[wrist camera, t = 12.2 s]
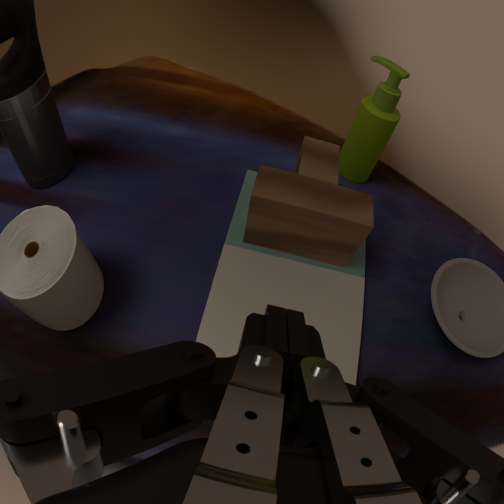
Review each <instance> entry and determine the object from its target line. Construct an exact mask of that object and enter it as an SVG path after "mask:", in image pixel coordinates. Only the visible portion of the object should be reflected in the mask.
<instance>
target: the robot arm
mask: <svg viewBox="0 0 504 504" xmlns="http://www.w3.org/2000/svg"><path fill="white" fill-rule="evenodd" d="M12 37H14V40H13V43H12V45H11V47H10V48H9V50H8V51H7V53H6V54H5V55H4V56H3V58H2V59H1V60H0V130H1V133H2V135H3V137H4V139H5V141H6V143H7V145H8V147H9V149H10V151H11V153H12V155H13V157H14V159H15V161H16V163H17V165H18V167H19V169H20V171H21V173H22V175H23V176H24V178H25V180H26V182H27V184H28V185H29V186H31V187H32V188H36V189H39V188H46V187H49V186H51V185H53V184H55V183H57V182H58V181H60V180H61V179H62V178H63V177H64V176H66V174H67V173H68V172H69V171H70V169H71V167H72V165H73V162H74V156H73V153H72V150H71V147H70V145H69V142H68V139H67V136H66V133H65V130H64V127H63V124H62V121H61V118H60V115H59V112H58V109H57V106H56V102H55V99H54V96H53V92H52V89H51V86H50V82H49V79H48V75H47V72H46V68H45V63H44V60H43V56H42V52H41V48H40V43H39V38H38V34H37V27H36V20H35V11H34V1H33V0H0V44H1V43H3V42H4V41H6V40H8V39H10V38H12ZM322 346H323V345H322V341H321V337H320V333H319V332H318V331H317V330H316V329H315V327H314V326H311V325H306V323H305V318H304V313H303V312H300V311H296V310H291V309H287V308H286V309H285V308H283V307H278V306H274V305H270V304H268V305H267V307H266V310H265V314H264V315H262V314H258V313H251V314H250V315H248V316H247V317H246V321H245V325H244V329H243V333H242V337H241V341H240V344H239V349H238V353H237V354H236V355H234V356H231V357H216V354H215V352H214V351H213V350H212V349H211V348H210V347H208V346H207V345H205V344H202V343H199V342H195V341H180V342H176V343H172V344H168V345H164V346H160V347H157V348H153V349H149V350H145V351H141V352H137V353H132V354H128V355H124V356H120V357H116V358H111V359H107V360H102V361H98V362H93V363H89V364H84V365H80V366H75V367H70V368H65V369H60V370H55V371H50V372H45V373H39V374H34V375H28V376H22V377H17V378H11V379H4V380H0V442H1V445H2V447H3V449H4V451H5V453H6V455H7V457H8V460H9V462H10V464H11V466H12V468H13V469H14V471H15V473H16V475H17V476H18V477H19V478H20V481H21V483H22V485H23V487H24V489H25V492H26V494H27V496H28V498H29V500H30V502H31V504H504V458H502V457H501V456H499V455H498V454H496V453H495V452H493V451H492V450H490V449H488V448H487V447H485V446H484V445H482V444H481V443H479V442H478V441H476V440H475V439H473V438H472V437H470V436H469V435H467V434H466V433H464V432H462V431H461V430H459V429H458V428H456V427H455V426H453V425H452V424H450V423H449V422H447V421H446V420H444V419H443V418H441V417H440V416H439V415H437V414H436V413H434V412H433V411H431V410H430V409H428V408H427V407H425V406H424V405H422V404H421V403H419V402H418V401H416V400H415V399H413V398H412V397H411V396H409V395H408V394H406V393H405V392H403V391H402V390H400V389H399V388H397V387H396V386H395V385H393V384H392V383H390V382H388V381H386V380H384V379H381V378H377V377H369V378H366V379H364V380H363V382H362V384H361V386H360V387H358V386H355V385H352V384H349V383H347V382H344V379H343V377H342V375H341V372H340V370H339V368H338V367H337V366H336V365H335V364H333V363H332V362H330V361H328V360H326V357H325V353H324V349H323V347H322ZM163 395H164V397H162V398H160V399H157V400H154V401H151V402H149V401H150V400H152V399H154V398H157V397H160V396H163ZM147 402H148V403H147ZM202 420H215V422H214V425H213V428H212V430H211V433H210V436H209V438H199V439H192V440H188V441H184V442H181V443H178V444H176V445H174V446H172V447H169V448H167V449H165V450H163V451H161V452H159V453H157V454H155V455H153V456H151V457H148V458H146V459H144V460H142V461H140V462H137V463H135V464H133V465H131V466H128V467H126V468H124V469H121V470H119V471H117V472H114V473H112V474H109V475H107V476H104V477H102V475H103V472H104V466H106V465H109V464H112V463H114V462H117V461H120V460H122V459H125V458H128V457H131V456H133V455H136V454H138V453H141V452H143V451H146V450H148V449H151V448H153V447H156V446H158V445H160V444H163V443H165V442H167V441H170V440H172V439H174V438H176V437H179V436H181V435H183V434H185V433H187V432H190V431H192V430H194V429H196V428H198V427H199V426H200V425H201V423H202ZM383 423H384V424H385V425H386V426H388V427H389V428H390V429H391V430H393V431H394V432H395V433H397V434H398V435H399V436H401V437H402V438H404V439H405V440H406V441H407V442H408V444H409V446H410V451H409V453H408V455H407V456H406V457H405V458H402V457H400V456H399V455H398V454H396V453H395V452H394V451H393V450H391V449H390V448H389V447H387V446H386V443H385V441H384V439H383V436H382V434H381V432H380V428H381V427H382V425H383ZM101 477H102V478H101ZM441 477H442V478H441Z"/></svg>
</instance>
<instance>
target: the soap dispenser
mask: <svg viewBox="0 0 504 504" xmlns="http://www.w3.org/2000/svg"><path fill="white" fill-rule="evenodd" d="M371 60H372V61H374V62H377V63H379V64H381V65H383V66H385V67H386V68H388V69H389V70H391V72H390V75H389V77H388V79H387V82H380V83H379V84H378V87H377V89H376V91H375V94H374V96H366V97H364V98H363V99H362V102H361V104H360V107H359V109H358V111H357V114H356V116H355V119H354V121H353V124H352V126H351V129H350V131H349V133H348V136H347V138H346V140H345V143H344V145H343V147H342V150H341V152H340V155H339V174H340V175H341V176H342V177H344V178H345V179H347V180H349V181H351V182H354V183H363V182H365V181H366V180H367V179H368V178H369V176H370V174H371V172H372V170H373V168H374V167H375V165H376V163H377V161H378V159H379V157H380V155H381V154H382V152H383V150H384V148H385V146H386V144H387V142H388V141H389V139H390V137H391V135H392V133H393V131H394V129H395V127H396V125H397V123H398V121H399V119H400V113H399V111H398V110H397V109H396V108H395V107H396V105H397V103H398V101H399V99H400V97H401V91H400V90H399V88H398V86H399V83H400V81H401V79H406V78H408V77H409V75H410V74H409V73H408V72H407V71H405V70H404V69H403V68H401V67H400V66H398V65H397V64H395V63H393V62H392V61H390V60H388V59H386V58H383V57H380V56H373V57H371Z"/></svg>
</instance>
